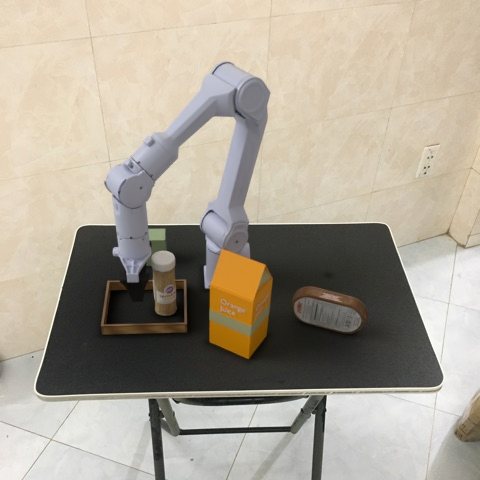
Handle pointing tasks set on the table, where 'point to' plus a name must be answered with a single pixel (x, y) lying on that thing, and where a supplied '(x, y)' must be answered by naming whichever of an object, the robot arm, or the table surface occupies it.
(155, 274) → the sprinkles bottle
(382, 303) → the table surface
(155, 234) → the block
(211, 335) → the orange juice
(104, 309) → the wooden frame
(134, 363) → the table surface
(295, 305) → the tin
